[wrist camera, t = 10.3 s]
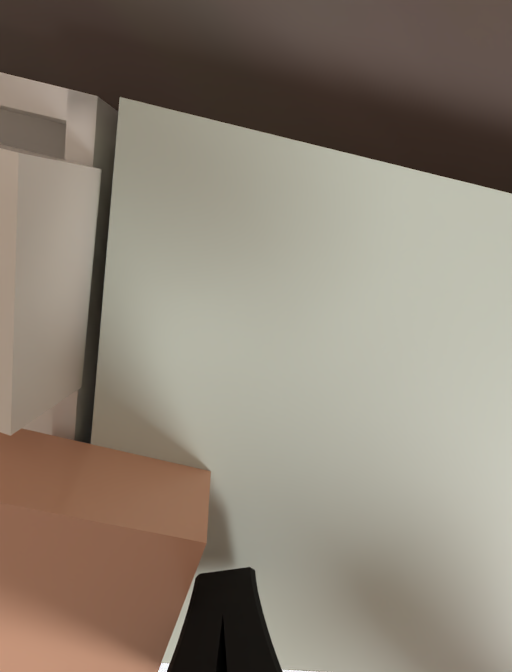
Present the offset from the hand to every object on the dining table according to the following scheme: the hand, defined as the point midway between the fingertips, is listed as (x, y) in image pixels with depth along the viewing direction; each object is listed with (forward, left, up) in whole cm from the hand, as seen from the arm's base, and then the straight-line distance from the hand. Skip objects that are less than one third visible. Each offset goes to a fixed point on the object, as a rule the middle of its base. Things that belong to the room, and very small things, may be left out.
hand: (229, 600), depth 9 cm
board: (-3, -3, -3) cm, 5 cm away
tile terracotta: (+3, -1, -1) cm, 4 cm away
